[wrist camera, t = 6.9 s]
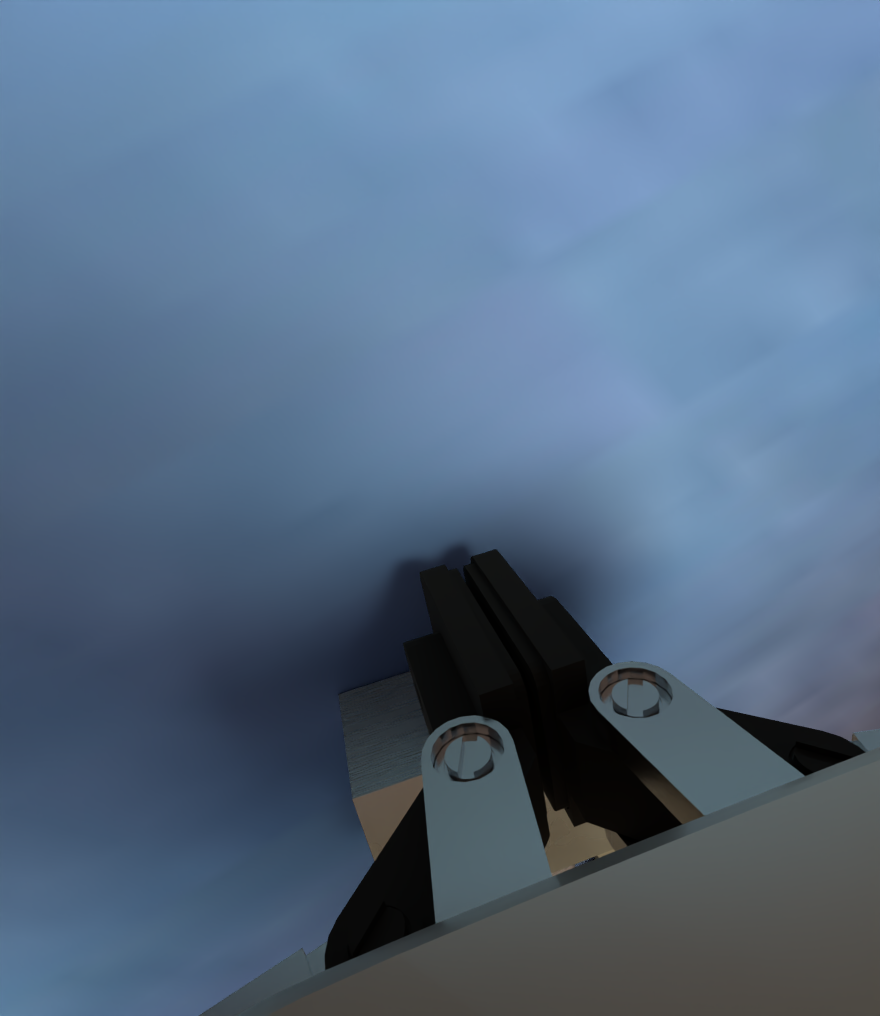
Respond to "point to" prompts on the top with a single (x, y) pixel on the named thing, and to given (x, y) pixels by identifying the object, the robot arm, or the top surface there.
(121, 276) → the top surface
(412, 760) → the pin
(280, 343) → the top surface
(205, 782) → the top surface
